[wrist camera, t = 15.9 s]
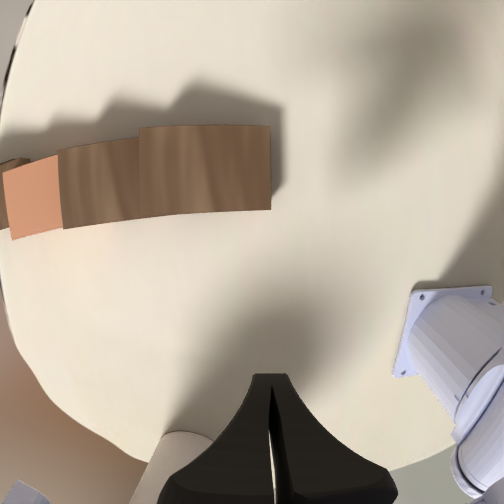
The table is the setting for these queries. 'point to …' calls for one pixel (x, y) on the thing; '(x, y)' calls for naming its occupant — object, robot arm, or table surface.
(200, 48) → the table surface
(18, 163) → the domino
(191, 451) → the coffee cup
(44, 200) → the domino
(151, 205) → the domino
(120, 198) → the domino
